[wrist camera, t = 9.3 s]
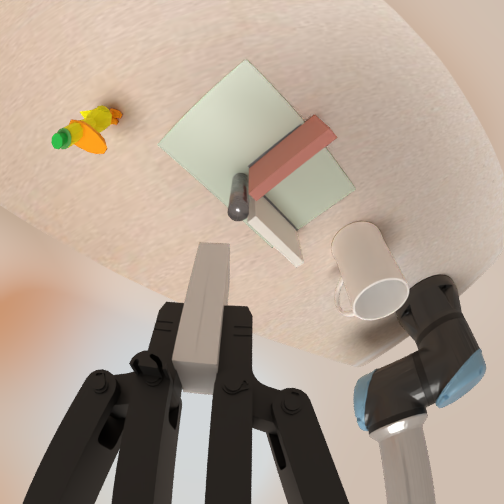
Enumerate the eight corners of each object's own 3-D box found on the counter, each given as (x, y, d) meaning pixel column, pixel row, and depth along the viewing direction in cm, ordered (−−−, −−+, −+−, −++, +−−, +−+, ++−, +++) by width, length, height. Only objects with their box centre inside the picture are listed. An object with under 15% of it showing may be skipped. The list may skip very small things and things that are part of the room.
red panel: (255, 175, 34) (256, 201, 28) (248, 168, 33) (248, 193, 28) (320, 122, 29) (337, 137, 24) (314, 114, 29) (330, 128, 23)
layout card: (355, 188, 35) (356, 189, 35) (272, 246, 42) (272, 248, 41) (246, 59, 25) (245, 59, 25) (157, 144, 32) (157, 144, 31)
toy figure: (142, 118, 29) (95, 148, 20) (128, 140, 31) (82, 178, 22) (102, 93, 26) (45, 115, 17) (90, 116, 28) (35, 146, 19)
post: (252, 181, 35) (253, 212, 29) (240, 191, 36) (238, 224, 29) (241, 169, 34) (238, 198, 27) (228, 180, 35) (223, 211, 28)
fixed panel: (296, 230, 40) (304, 262, 34) (290, 235, 40) (296, 267, 35) (254, 188, 35) (255, 216, 30) (247, 193, 36) (247, 222, 30)
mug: (341, 283, 47) (358, 339, 37) (306, 262, 44) (319, 323, 34) (390, 238, 41) (421, 292, 31) (358, 211, 38) (389, 266, 28)
